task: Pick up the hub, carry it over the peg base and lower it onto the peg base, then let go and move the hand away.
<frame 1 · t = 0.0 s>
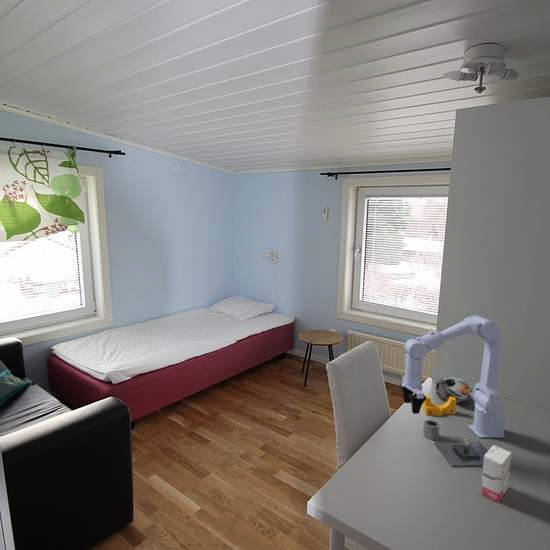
hand: (411, 407, 136), 10 cm above the table, fingers open, 7 cm apart
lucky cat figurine: (454, 400, 163), on the table
ink box: (494, 491, 108), on the table
yellow curved piece: (439, 413, 152), on the table
hub: (430, 436, 135), on the table
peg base: (466, 454, 125), on the table
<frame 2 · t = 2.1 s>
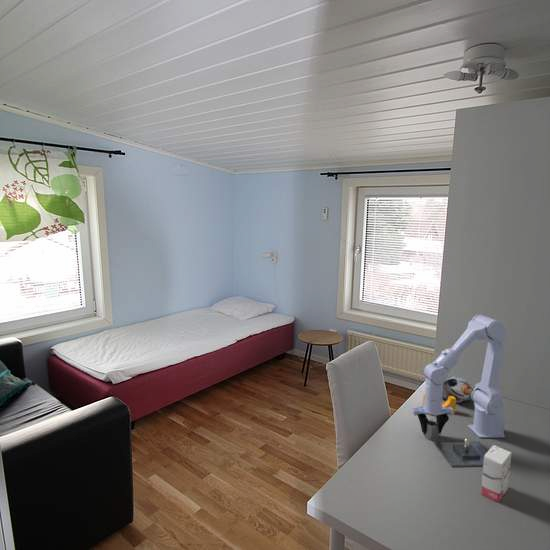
hand: (431, 432, 135), 1 cm above the table, fingers closed on hub, 5 cm apart
hub: (430, 436, 135), on the table, touching gripper
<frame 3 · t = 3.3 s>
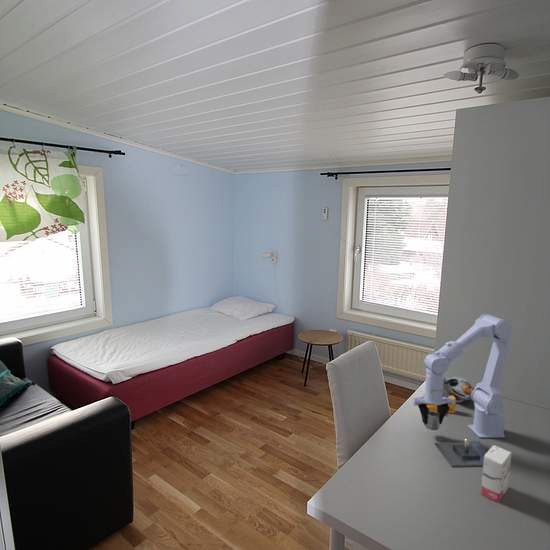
hand: (431, 422, 135), 5 cm above the table, fingers closed on hub, 5 cm apart
hub: (431, 426, 135), point 4 cm above the table, touching gripper
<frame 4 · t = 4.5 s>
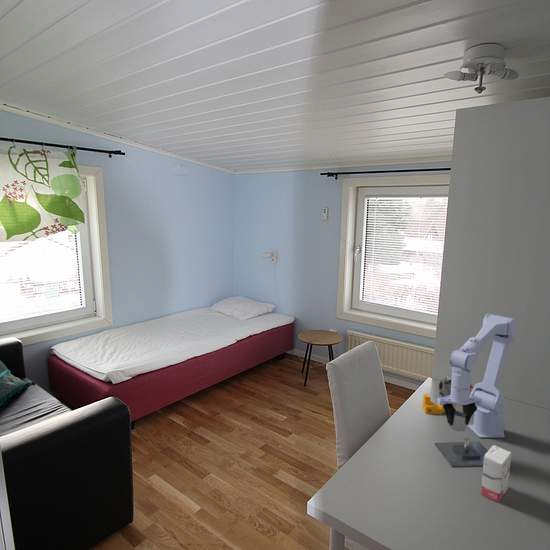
hand: (457, 423, 126), 9 cm above the table, fingers closed on hub, 5 cm apart
hub: (457, 427, 127), point 8 cm above the table, touching gripper
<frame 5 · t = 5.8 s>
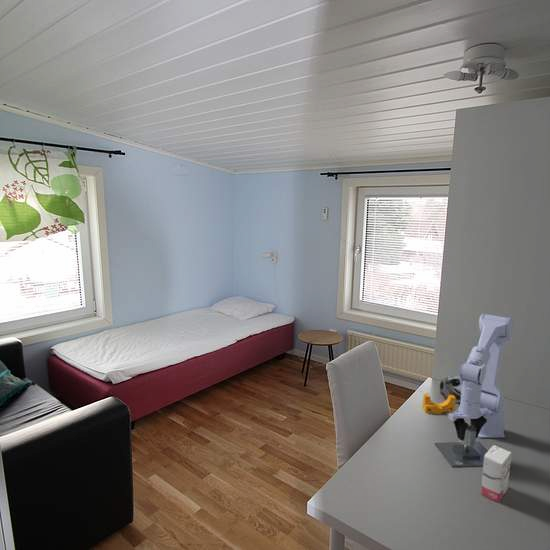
hand: (467, 437, 124), 6 cm above the table, fingers closed on hub, 5 cm apart
hub: (467, 441, 124), point 5 cm above the table, touching gripper
when the fingers open (5 cm above the table, at t = 7.0 s): hub drops 2 cm, resting on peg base.
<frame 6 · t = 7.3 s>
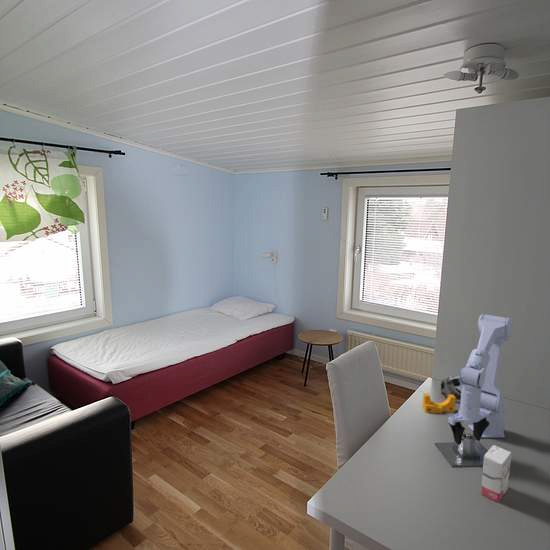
hand: (467, 441, 124), 5 cm above the table, fingers open, 7 cm apart
hub: (466, 450, 124), point 2 cm above the table, touching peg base
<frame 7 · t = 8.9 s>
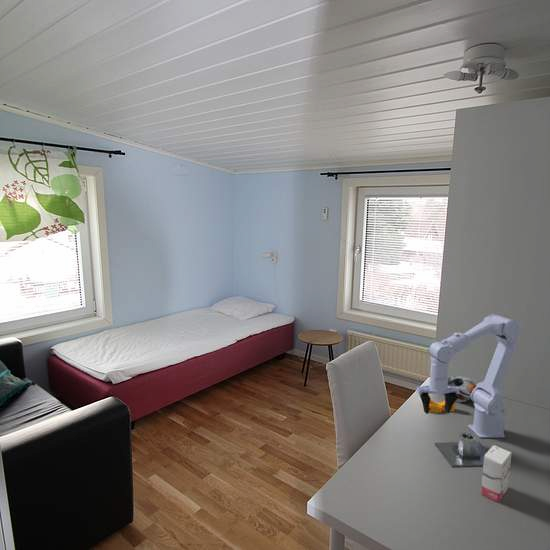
hand: (436, 412, 133), 10 cm above the table, fingers open, 7 cm apart
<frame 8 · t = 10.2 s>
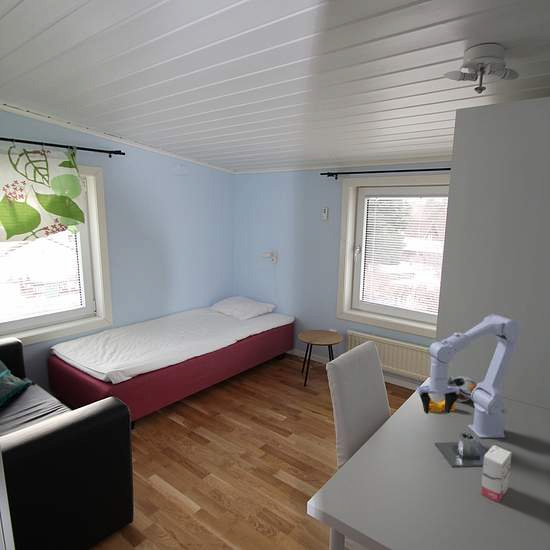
hand: (436, 412, 133), 10 cm above the table, fingers open, 7 cm apart
at the end: hub 0.0 cm off-centre on the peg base, point 1.6 cm above the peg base's base; hub tilted 0°; the gripper is holding nothing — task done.
